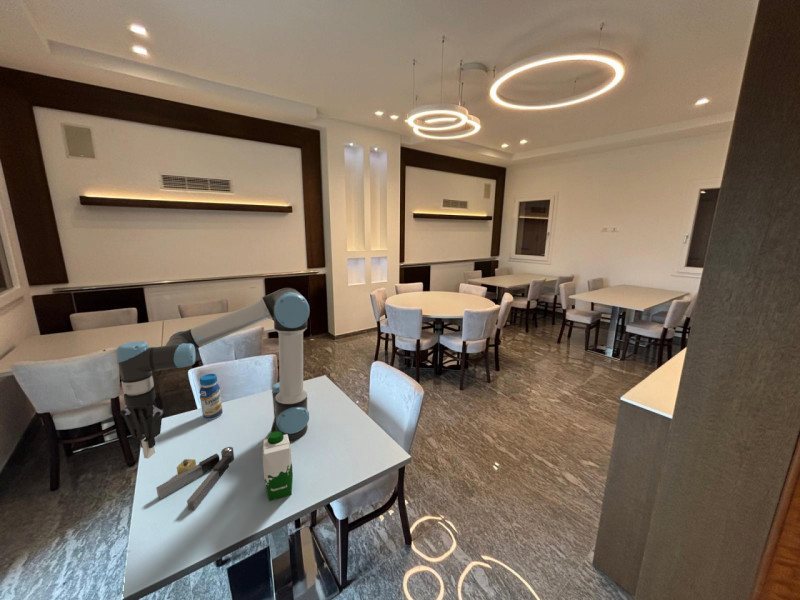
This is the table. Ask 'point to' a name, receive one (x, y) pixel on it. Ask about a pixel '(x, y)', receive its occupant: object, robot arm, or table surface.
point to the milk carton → (277, 465)
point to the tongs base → (211, 478)
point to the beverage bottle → (210, 397)
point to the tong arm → (187, 476)
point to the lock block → (185, 465)
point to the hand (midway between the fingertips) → (149, 455)
